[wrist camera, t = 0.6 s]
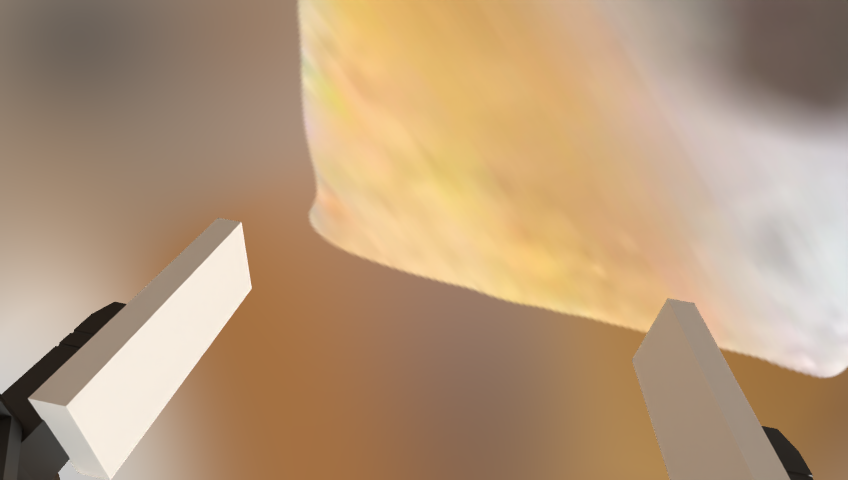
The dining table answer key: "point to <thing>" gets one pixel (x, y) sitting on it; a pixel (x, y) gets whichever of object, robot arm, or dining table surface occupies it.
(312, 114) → the dining table surface
